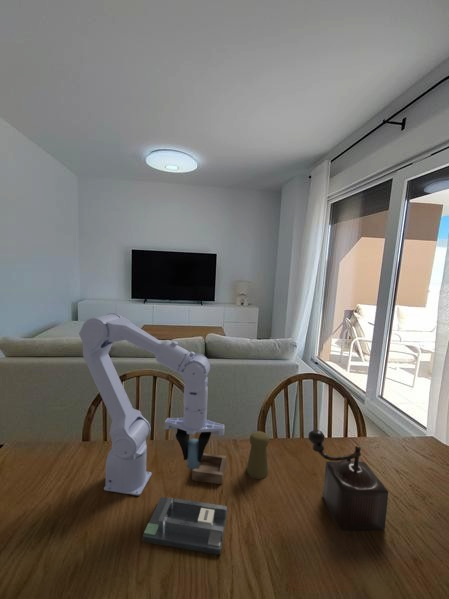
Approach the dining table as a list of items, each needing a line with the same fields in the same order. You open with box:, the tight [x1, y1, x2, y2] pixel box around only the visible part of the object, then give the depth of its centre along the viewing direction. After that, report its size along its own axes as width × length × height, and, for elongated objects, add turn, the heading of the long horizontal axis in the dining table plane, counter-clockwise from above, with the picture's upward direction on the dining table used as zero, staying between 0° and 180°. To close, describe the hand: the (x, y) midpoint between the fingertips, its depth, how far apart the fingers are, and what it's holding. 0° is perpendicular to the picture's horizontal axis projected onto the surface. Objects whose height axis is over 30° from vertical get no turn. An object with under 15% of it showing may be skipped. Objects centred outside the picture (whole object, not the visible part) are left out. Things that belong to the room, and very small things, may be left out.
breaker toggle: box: [198, 508, 215, 525], centre depth 63 cm, size 3×3×2 cm
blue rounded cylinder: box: [186, 438, 199, 470], centre depth 73 cm, size 3×3×6 cm
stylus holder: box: [191, 452, 227, 485], centre depth 81 cm, size 8×8×3 cm
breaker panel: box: [142, 496, 228, 556], centre depth 64 cm, size 16×10×3 cm, turn 82°
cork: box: [246, 430, 270, 480], centre depth 82 cm, size 6×6×11 cm
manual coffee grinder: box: [308, 429, 389, 532], centre depth 69 cm, size 16×11×18 cm
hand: (193, 458), depth 73 cm, fingers closed on blue rounded cylinder, 3 cm apart
